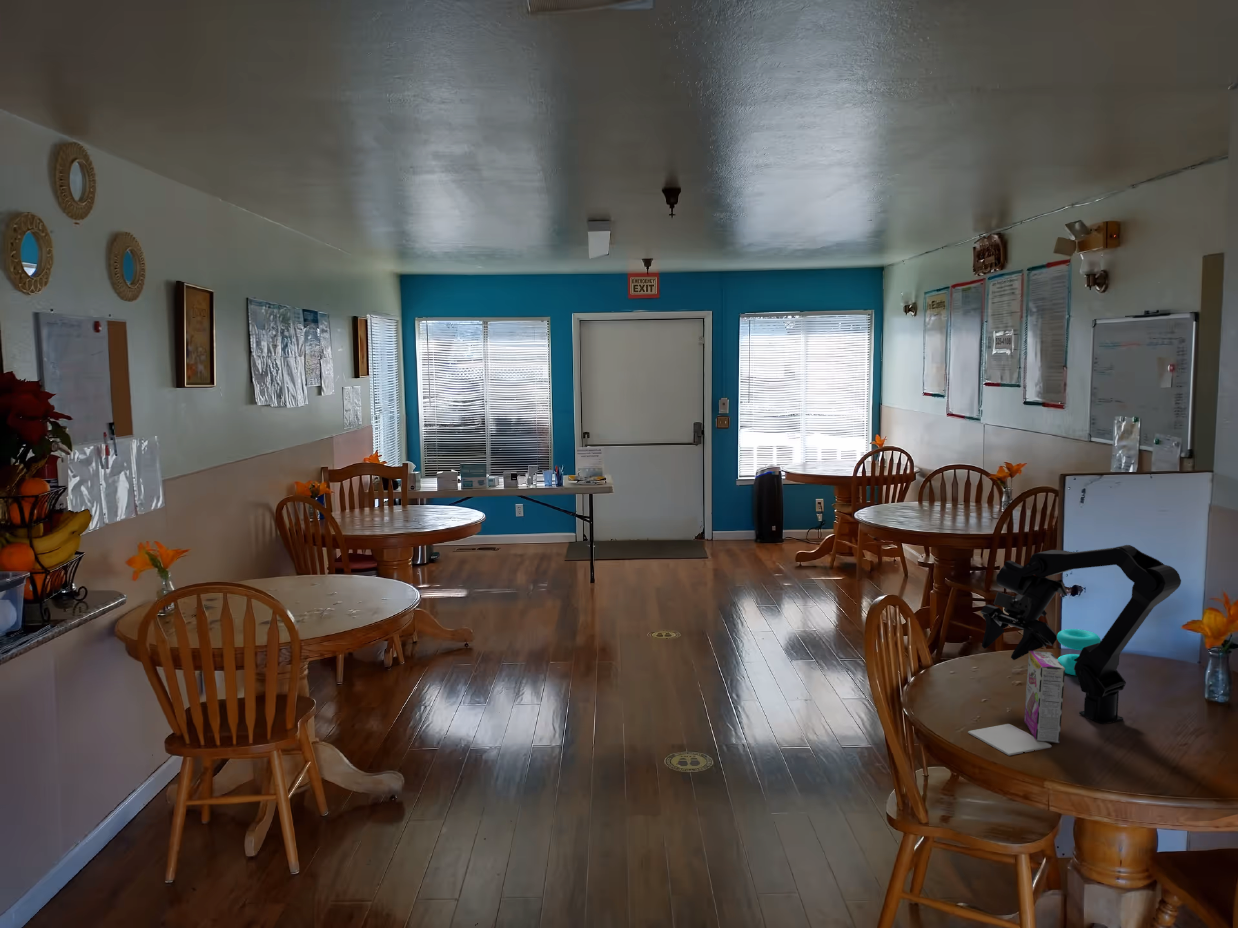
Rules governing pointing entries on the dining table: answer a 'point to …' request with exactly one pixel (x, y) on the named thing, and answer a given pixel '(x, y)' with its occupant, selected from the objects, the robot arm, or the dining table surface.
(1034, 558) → the robot arm
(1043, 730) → the candy bar box
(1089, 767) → the dining table surface
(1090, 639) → the donuts
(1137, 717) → the dining table surface
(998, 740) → the mat
